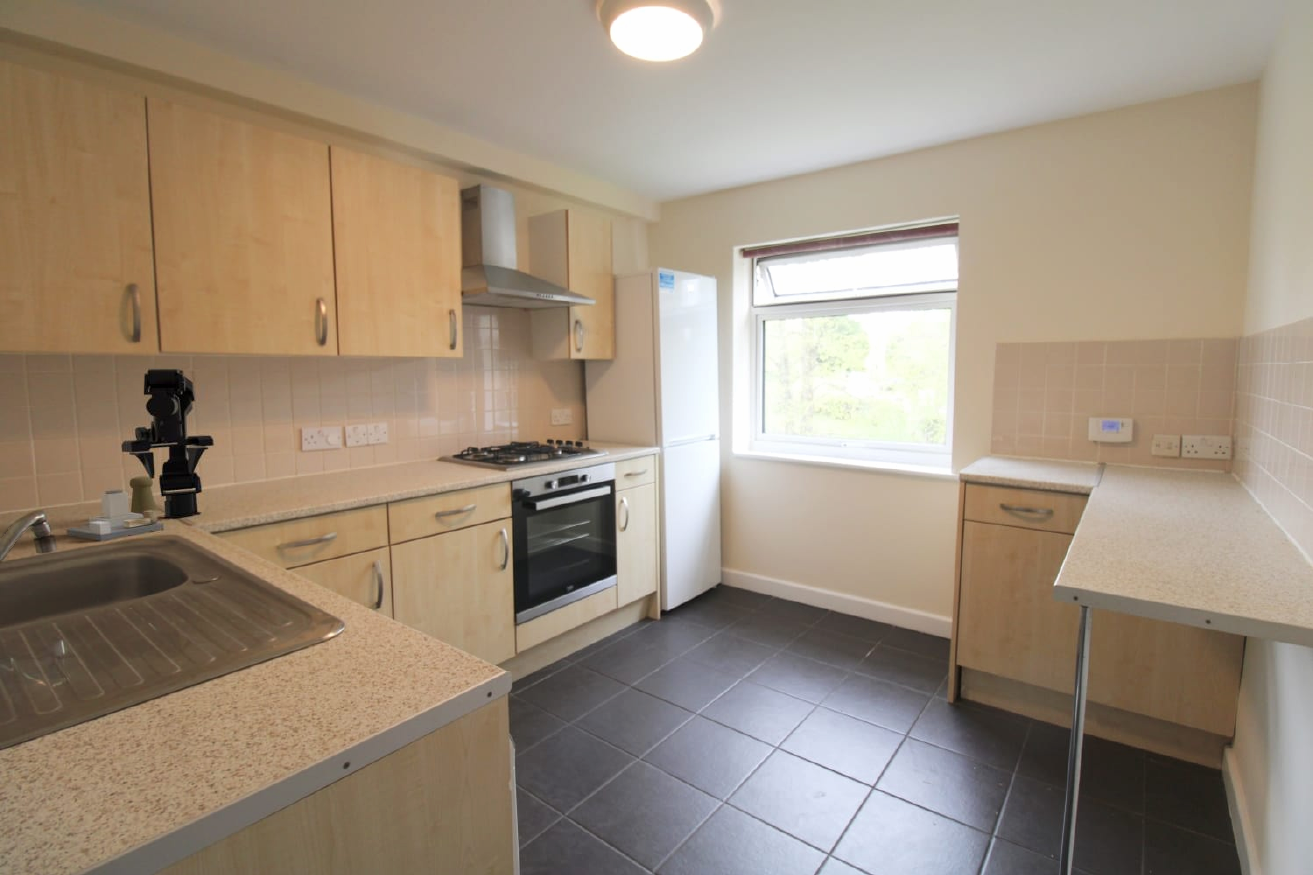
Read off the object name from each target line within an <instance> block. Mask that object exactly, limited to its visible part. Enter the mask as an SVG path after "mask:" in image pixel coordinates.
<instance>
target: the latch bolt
mask: <svg viewBox="0 0 1313 875" xmlns="http://www.w3.org/2000/svg"><path fill="white" fill-rule="evenodd" d="M152 523H159V522H158V510H157V511H153V510H148V511H143V517H141V518H135V519H129V520H123V526H124V527H135V526H141V525H146V524H152Z"/></svg>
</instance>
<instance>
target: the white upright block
mask: <svg viewBox="0 0 1313 875" xmlns="http://www.w3.org/2000/svg"><path fill="white" fill-rule="evenodd" d="M128 495H129V494H128V492H127V491H123V489H110V490H105V491H104V492H103V493H100V500H101V501H100V502H101V512H102V516H103V518H104V519H111V518H118V517H124V516H130V515H129V512H130V505H129V496H128Z"/></svg>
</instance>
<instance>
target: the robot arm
mask: <svg viewBox="0 0 1313 875" xmlns="http://www.w3.org/2000/svg"><path fill="white" fill-rule="evenodd" d="M143 376H144V377H143V379H144V380H143V395H144V396H151V397H150V398H149V399H148V400H147V402H146V404H145V408H146V410H147V413H148V414H149V415H150V416H152V419H153V420H152V421H151V422H150V428H147V427H146V426H141V427H136V428H135V429H134V431H135V432H134V434H135V439H129V440H124V441H123V442H122V443H121V452H122V453H129V455H130V456H135V457H136V458H137V459H138V461H140V462H141V464H142V466H143V468H144V469H145V471H146V473H147V474H148V475H147V476H148V477H150V478H151V479H152V480H153V479H155V473H156V472H155V458H154V457H155V456H154V455H155V454H154V451H150V450H151V449H159V448H168V459H167V461H164V462H163V463H162V468H161V474H160V475H159V477H158V478H159V479H158V482H159V488H160V489H159V490H160V495H161V498H162V497H165V501H164V505H163V506H164V514H163V516H164V517H167V518H174V519H177V518H183V517H190V516H191V517H192V516H196V515H201V514H202V512H201V511H198V502H197V500H198V499H197V494H200V493H203V491H202V490H203V489H202V488H203V487H202V482H201V476H199V475H198V473H197V472H195V470H196V468H197V466H198V463H199V462H200V459H201V457H202V456H203V454H204V453H205V451H206V450H209V447H211V446H214V444H215V443H214V438H213V437H212V436H211V435H205V434H204V435H203V434H202V435H201V434H199V435H188V429H187V427H188V425H187V420H188V419H187V417H188V415H189V414H190V412H192V410H193V408H194V402H196V393H195V386H194V383H193V382H192V380H190V379H189V378H187V377H186V376H185V374H184V370H182V369H178V368H148V370H147V372H145V373H144V375H143Z"/></svg>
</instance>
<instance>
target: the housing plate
mask: <svg viewBox="0 0 1313 875" xmlns="http://www.w3.org/2000/svg"><path fill="white" fill-rule="evenodd" d="M129 515H130V516H124V517H118V518H111V519H104V518H103V515H99V516H98V515H97V516H92V517H88V525H82V526H76V527H72V528H66V530H65V531H66V532H65V533H66V536H68V537H69V536H70V537H77V538H81V539H87V540H94V541H99V542H104V541H109V540H115V539H120V538H119V537H121V538H124V537H123V536H126V537H128V536H127V535H131V536H133V535H132V534H137V535H140V534H141V533H142V534H147V533H151V532H150V531H153V532H156V531H155V530H158V531H161V530H160V529H165V528H164V523H161V522H158V523H152V524H146V525H141V526H135V527H124V526H123V520H129V519H135V518H141V517H144V516H143V515H142V514H138V513H131V511H129ZM146 532H147V533H146ZM142 534H141V535H142Z"/></svg>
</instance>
